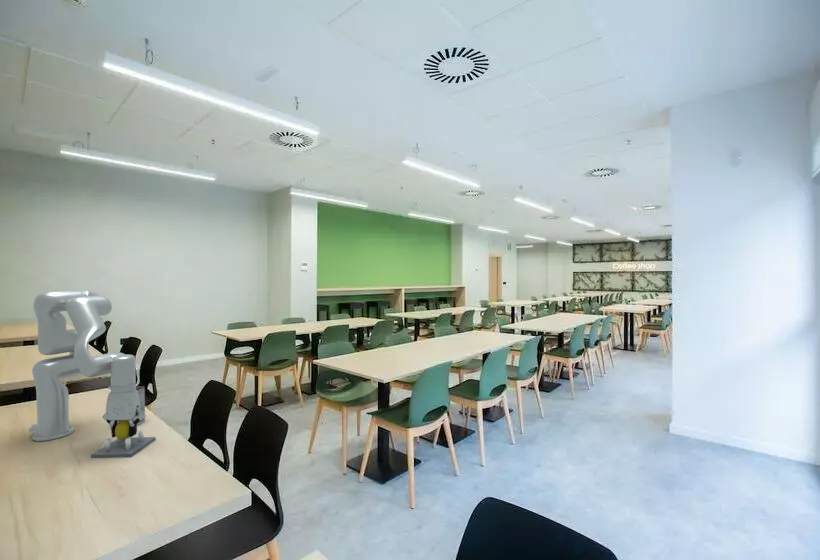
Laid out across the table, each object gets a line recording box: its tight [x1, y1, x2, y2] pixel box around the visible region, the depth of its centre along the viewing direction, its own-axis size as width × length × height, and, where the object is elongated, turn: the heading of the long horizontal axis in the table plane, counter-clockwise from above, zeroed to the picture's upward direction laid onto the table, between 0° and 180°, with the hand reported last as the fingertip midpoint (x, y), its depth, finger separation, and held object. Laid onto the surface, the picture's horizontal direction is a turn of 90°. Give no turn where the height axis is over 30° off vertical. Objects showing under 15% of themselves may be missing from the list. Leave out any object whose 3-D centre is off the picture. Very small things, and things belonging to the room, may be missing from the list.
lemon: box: [115, 420, 131, 441], centre depth 144 cm, size 6×6×8 cm
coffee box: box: [118, 385, 146, 426], centre depth 168 cm, size 9×6×16 cm
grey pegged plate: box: [90, 429, 157, 459], centre depth 145 cm, size 14×14×5 cm
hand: (124, 435), depth 145 cm, fingers closed on lemon, 5 cm apart
